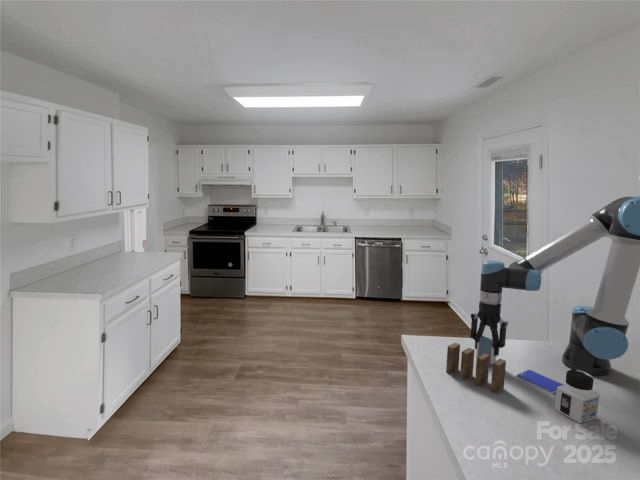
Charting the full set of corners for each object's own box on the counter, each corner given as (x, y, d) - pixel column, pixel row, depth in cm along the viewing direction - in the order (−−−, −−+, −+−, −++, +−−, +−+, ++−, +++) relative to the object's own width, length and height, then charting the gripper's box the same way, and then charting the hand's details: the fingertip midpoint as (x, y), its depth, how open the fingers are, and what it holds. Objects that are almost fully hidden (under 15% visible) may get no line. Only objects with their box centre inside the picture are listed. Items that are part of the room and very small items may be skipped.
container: (580, 424, 105) (585, 382, 103) (554, 410, 112) (558, 369, 110) (597, 418, 108) (602, 376, 106) (570, 404, 115) (575, 365, 113)
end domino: (480, 360, 145) (482, 335, 144) (493, 364, 141) (495, 339, 140) (478, 361, 144) (479, 337, 142) (490, 366, 140) (492, 341, 138)
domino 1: (458, 370, 137) (460, 344, 135) (451, 374, 133) (452, 348, 132) (453, 368, 138) (455, 342, 137) (446, 372, 135) (447, 346, 134)
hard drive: (516, 374, 132) (552, 391, 121) (529, 369, 136) (565, 384, 125) (516, 378, 132) (552, 395, 121) (529, 373, 136) (565, 389, 125)
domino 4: (503, 388, 124) (506, 360, 123) (496, 394, 121) (499, 365, 119) (497, 386, 125) (500, 358, 124) (490, 391, 122) (492, 362, 121)
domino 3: (487, 382, 128) (489, 354, 127) (480, 387, 125) (482, 359, 124) (482, 380, 130) (484, 352, 128) (474, 384, 126) (476, 356, 125)
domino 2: (472, 376, 132) (474, 349, 131) (465, 380, 129) (467, 353, 128) (467, 373, 134) (469, 347, 133) (460, 378, 131) (461, 351, 129)
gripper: (462, 298, 144) (459, 354, 147) (510, 309, 130) (505, 372, 133) (472, 294, 148) (468, 349, 151) (519, 305, 135) (514, 366, 138)
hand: (485, 360), depth 142 cm, fingers closed on end domino, 5 cm apart
